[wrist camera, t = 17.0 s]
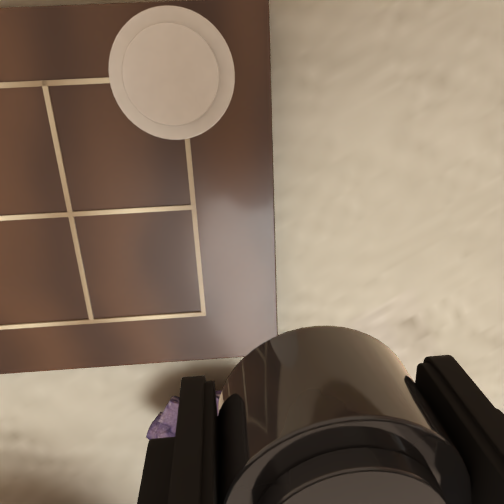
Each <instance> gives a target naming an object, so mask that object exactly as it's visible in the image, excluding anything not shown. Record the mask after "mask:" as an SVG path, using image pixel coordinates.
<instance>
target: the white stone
mask: <svg viewBox="0 0 504 504" xmlns="http://www.w3.org/2000/svg"><path fill="white" fill-rule="evenodd" d="M108 72H109V81H110V86H111V89H112V92H113V95H114V98H115V100H116V102H117V104H118V105H119V107H120V109H121V110H122V112H123V113H124V114H125V115H126V117H127V118H128V119H129V120H130V121H131V122H132V123H133V124H134V125H136V126H137V127H138V128H140V129H141V130H143V131H145V132H146V133H148V134H151V135H153V136H155V137H159V138H163V139H169V140H182V139H188V138H192V137H195V136H198V135H200V134H202V133H204V132H206V131H207V130H209V129H210V128H211V127H213V126H214V125H215V124H216V123H217V122H218V121H219V120H220V119H221V117H222V116H223V115H224V113H225V112H226V110H227V108H228V106H229V104H230V101H231V99H232V95H233V91H234V84H235V70H234V63H233V59H232V55H231V52H230V49H229V47H228V45H227V43H226V41H225V39H224V38H223V36H222V35H221V33H220V32H219V31H218V30H217V28H216V27H215V26H214V25H213V24H212V23H211V22H210V21H208V20H207V19H206V18H204V17H203V16H201V15H200V14H198V13H196V12H194V11H192V10H190V9H187V8H184V7H179V6H171V5H164V6H156V7H152V8H148V9H146V10H144V11H142V12H140V13H138V14H136V15H135V16H133V17H132V18H131V19H130V20H129V21H128V22H126V24H125V25H124V26H123V27H122V28H121V30H120V31H119V33H118V34H117V36H116V38H115V40H114V42H113V45H112V48H111V51H110V56H109V65H108Z"/></svg>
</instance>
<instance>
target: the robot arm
mask: <svg viewBox="0 0 504 504" xmlns="http://www.w3.org/2000/svg"><path fill="white" fill-rule="evenodd" d="M415 384H416V386H417V387H418V389H419V390H420V392H421V393H422V395H423V397H424V398H425V400H426V401H427V403H428V404H429V406H430V407H431V409H432V411H433V412H434V414H435V415H436V417H437V418H438V420H439V422H440V423H441V425H442V426H443V428H444V429H445V431H446V432H447V434H448V436H449V437H450V439H451V440H452V442H453V443H454V445H455V446H456V448H457V450H458V451H459V453H460V454H461V456H462V457H463V459H464V461H465V463H466V465H467V467H468V470H469V474H470V477H471V482H472V495H471V501H470V504H504V414H503V413H502V412H501V411H500V410H499V409H496V408H495V407H494V406H493V405H492V404H491V402H490V401H489V400H488V399H487V397H486V396H485V395H484V394H483V393H482V391H481V390H480V389H479V388H478V387H477V385H476V384H475V383H474V382H473V381H472V379H471V378H470V377H469V376H468V375H467V373H466V372H465V371H464V370H463V369H462V367H461V366H460V365H459V364H458V362H457V361H456V360H455V359H454V358H453V357H452V356H451V355H442V356H430V357H426V358H425V359H424V362H423V363H420V364H418V366H417V372H416V381H415ZM137 504H218V414H217V403H216V393H215V383H214V381H208V382H206V378H205V376H193V377H182V380H181V388H180V397H179V406H178V415H177V424H176V433H175V437H166V438H155V439H150V441H149V443H148V447H147V453H146V458H145V464H144V469H143V475H142V480H141V486H140V491H139V497H138V502H137Z"/></svg>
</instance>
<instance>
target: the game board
mask: <svg viewBox="0 0 504 504" xmlns="http://www.w3.org/2000/svg"><path fill="white" fill-rule="evenodd" d="M164 5H171V6H179V7H184V8H187V9H190V10H192V11H194V12H196V13H198V14H200V15H201V16H203V17H204V18H206V19H207V20H208V21H210V22H211V23H212V24H213V25H214V26H215V27H216V28H217V30H218V31H219V32H220V33H221V35H222V36H223V38H224V39H225V41H226V43H227V45H228V47H229V49H230V52H231V55H232V59H233V63H234V70H235V84H234V91H233V95H232V99H231V101H230V104H229V106H228V108H227V110H226V112H225V113H224V115H223V116H222V117H221V119H220V120H219V121H218V122H217V123H216V124H215V125H214V126H213V127H211V128H210V129H209V130H207V131H206V132H204V133H202V134H200V135H198V136H195V137H192V138H188V139H182V140H169V139H163V138H159V137H155V136H153V135H151V134H148V133H146V132H145V131H143V130H141V129H140V128H138V127H137V126H136V125H134V124H133V123H132V122H131V121H130V120H129V119H128V118H127V117H126V115H125V114H124V113H123V112H122V110H121V109H120V107H119V105H118V104H117V102H116V100H115V98H114V95H113V92H112V89H111V86H110V81H109V72H108V65H109V56H110V51H111V48H112V45H113V42H114V40H115V38H116V36H117V34H118V33H119V31H120V30H121V28H122V27H123V26H124V25H125V24H126V22H128V21H129V20H130V19H131V18H132V17H133V16H135V15H136V14H138V13H140V12H142V11H144V10H146V9H148V8H152V7H156V6H164ZM275 336H278V332H277V294H276V256H275V217H274V179H273V141H272V103H271V64H270V26H269V0H185V1H160V2H136V3H111V4H86V5H61V6H36V7H11V8H0V374H7V373H21V372H35V371H49V370H63V369H77V368H91V367H105V366H119V365H133V364H147V363H161V362H175V361H189V360H203V359H217V358H232V357H245V356H246V355H247V354H249V353H250V352H251V351H252V350H253V349H255V348H256V347H258V346H259V345H261V344H262V343H264V342H265V341H267V340H269V339H271V338H273V337H275Z"/></svg>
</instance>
